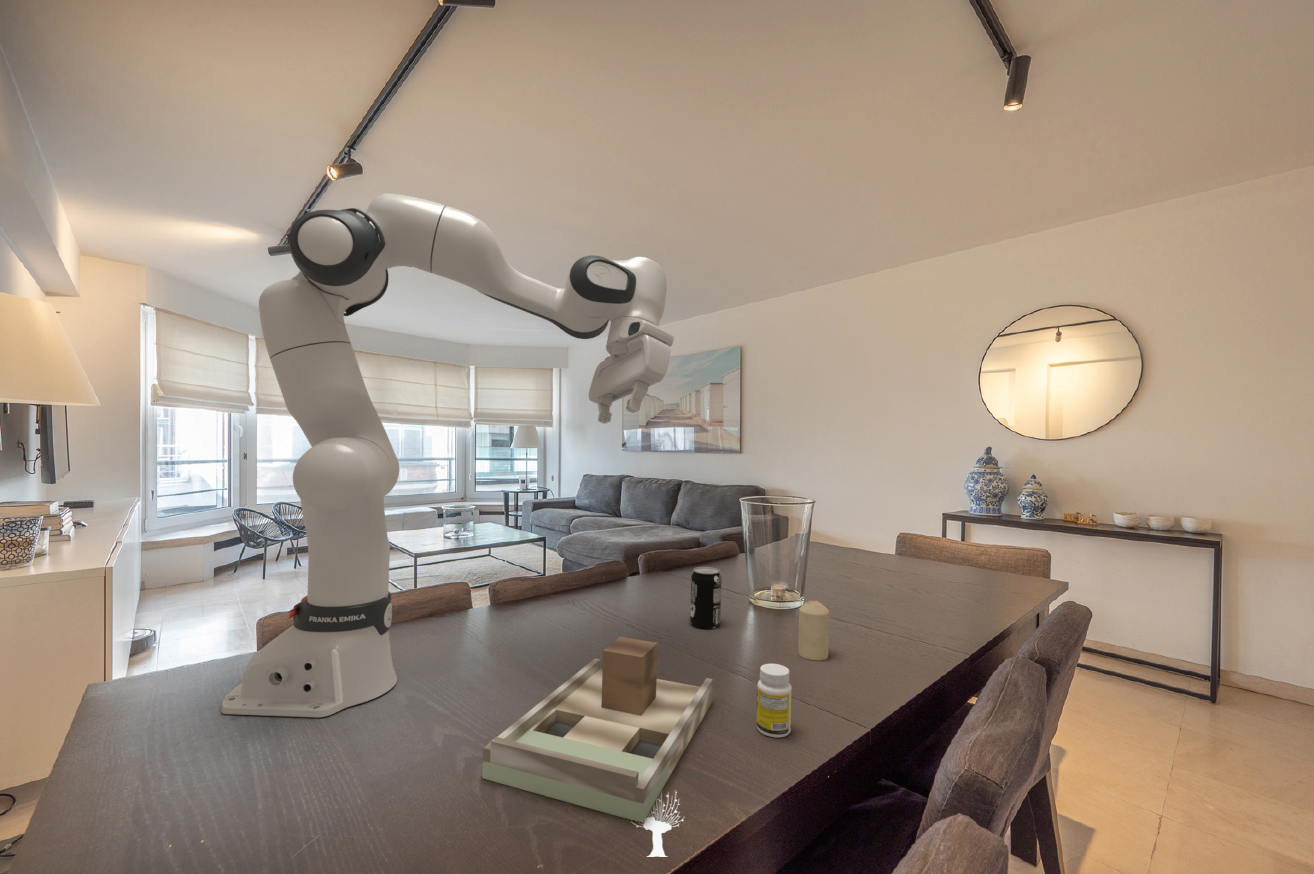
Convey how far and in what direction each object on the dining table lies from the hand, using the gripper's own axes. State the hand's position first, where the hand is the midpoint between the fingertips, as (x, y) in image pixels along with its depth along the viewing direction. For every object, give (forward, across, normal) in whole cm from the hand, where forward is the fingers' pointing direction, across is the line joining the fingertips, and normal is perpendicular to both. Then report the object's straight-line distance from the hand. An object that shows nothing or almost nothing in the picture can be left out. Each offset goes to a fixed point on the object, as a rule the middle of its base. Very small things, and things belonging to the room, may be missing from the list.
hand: (617, 416), depth 93 cm
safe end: (+50, +14, -4) cm, 52 cm away
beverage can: (+30, -20, +42) cm, 55 cm away
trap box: (+46, +8, +4) cm, 47 cm away
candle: (+33, +4, +49) cm, 59 cm away
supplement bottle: (+43, +19, +24) cm, 52 cm away
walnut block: (+43, +6, +8) cm, 44 cm away
